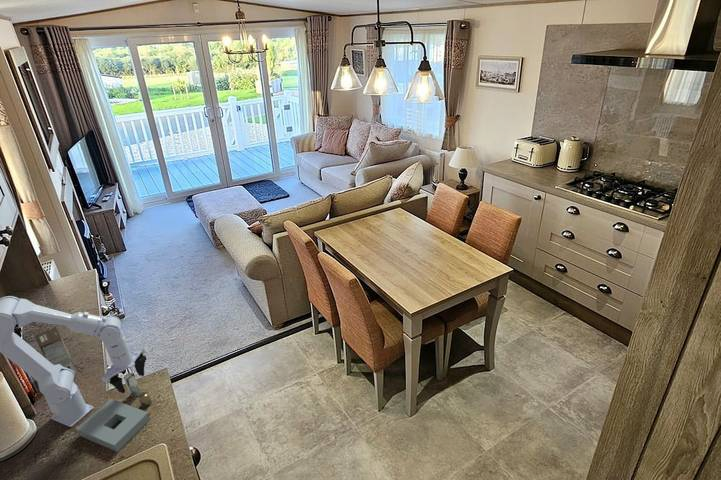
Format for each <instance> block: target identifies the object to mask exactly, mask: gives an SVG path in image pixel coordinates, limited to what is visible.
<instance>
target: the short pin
mask: <svg viewBox="0 0 721 480" xmlns="http://www.w3.org/2000/svg"><path fill="white" fill-rule="evenodd" d="M137 399H138V401H139V403H140V405H141V408H142V409H148V408H149V407H151V406H152V399H151V397H150V394H149V392H148V391H143V392H141V394H140V395H139V396H138V398H137Z"/></svg>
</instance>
